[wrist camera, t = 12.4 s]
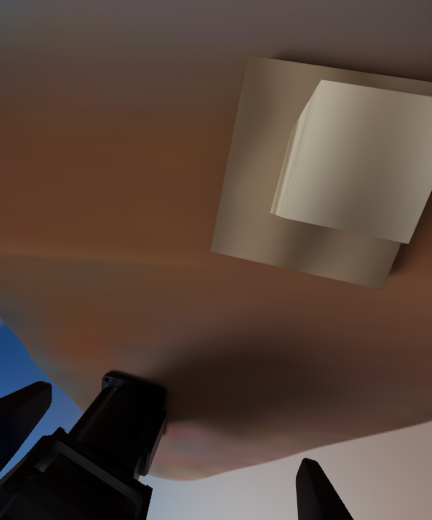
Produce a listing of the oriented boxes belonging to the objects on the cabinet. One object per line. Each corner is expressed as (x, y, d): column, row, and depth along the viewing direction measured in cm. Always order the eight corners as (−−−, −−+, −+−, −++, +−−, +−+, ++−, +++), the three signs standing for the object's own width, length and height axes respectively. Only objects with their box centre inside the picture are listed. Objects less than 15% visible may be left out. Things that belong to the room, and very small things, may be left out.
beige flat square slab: (214, 246, 18) (210, 251, 16) (248, 74, 15) (247, 55, 13) (367, 280, 17) (381, 289, 15) (436, 103, 14) (466, 87, 12)
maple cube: (270, 212, 15) (283, 217, 10) (291, 130, 14) (321, 79, 8) (346, 228, 15) (408, 243, 9) (375, 145, 14) (469, 102, 8)
